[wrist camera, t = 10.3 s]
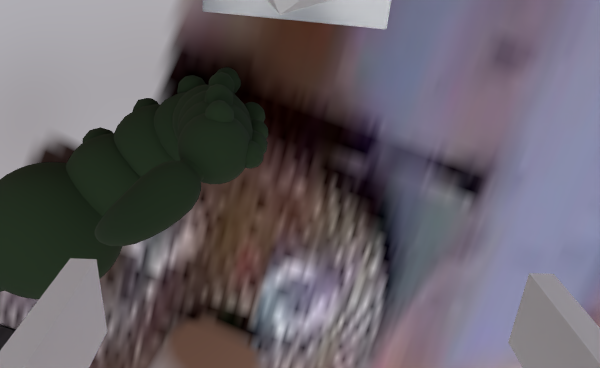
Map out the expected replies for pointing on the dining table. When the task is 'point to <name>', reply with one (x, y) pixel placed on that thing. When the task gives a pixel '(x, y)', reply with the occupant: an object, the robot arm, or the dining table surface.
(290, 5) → the die
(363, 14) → the slate block
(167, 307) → the dining table surface
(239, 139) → the toy figurine
